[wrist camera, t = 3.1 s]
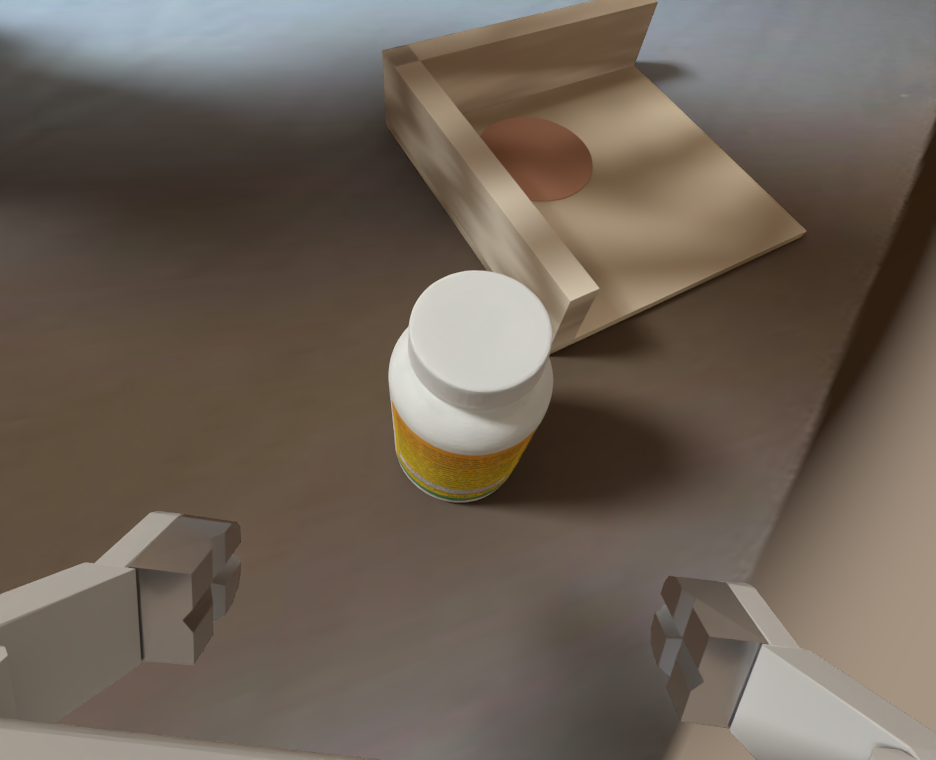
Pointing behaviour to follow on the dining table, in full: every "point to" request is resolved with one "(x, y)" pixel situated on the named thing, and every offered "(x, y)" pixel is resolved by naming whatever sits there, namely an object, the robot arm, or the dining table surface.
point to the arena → (575, 164)
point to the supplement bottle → (469, 383)
